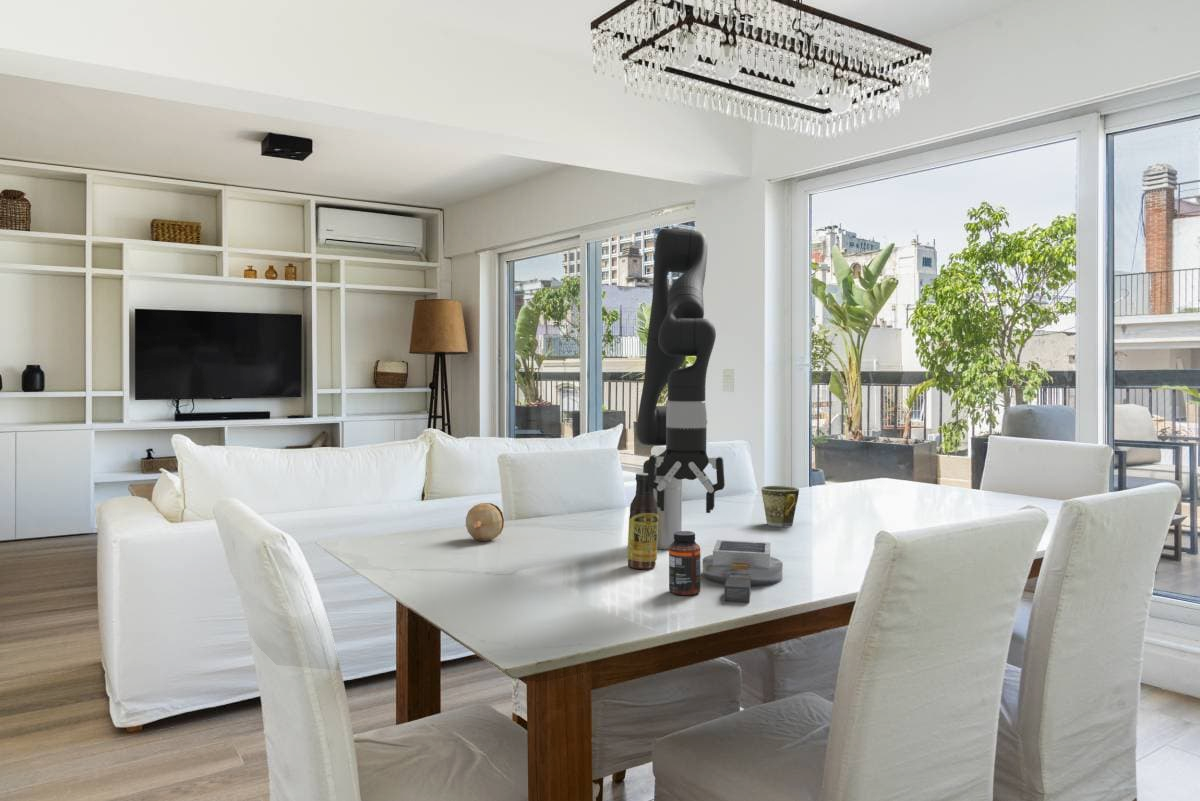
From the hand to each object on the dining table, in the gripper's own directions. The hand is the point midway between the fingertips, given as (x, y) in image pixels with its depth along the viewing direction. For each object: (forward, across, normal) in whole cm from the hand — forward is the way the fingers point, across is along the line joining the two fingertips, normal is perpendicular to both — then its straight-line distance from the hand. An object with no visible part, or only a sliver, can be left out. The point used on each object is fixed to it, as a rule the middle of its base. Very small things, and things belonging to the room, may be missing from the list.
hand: (685, 511), depth 156 cm
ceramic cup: (+15, +18, +73) cm, 77 cm away
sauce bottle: (+15, -11, +18) cm, 26 cm away
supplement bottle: (+15, 0, 0) cm, 16 cm away
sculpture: (+15, -53, +35) cm, 65 cm away
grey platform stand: (+15, +10, +9) cm, 20 cm away
